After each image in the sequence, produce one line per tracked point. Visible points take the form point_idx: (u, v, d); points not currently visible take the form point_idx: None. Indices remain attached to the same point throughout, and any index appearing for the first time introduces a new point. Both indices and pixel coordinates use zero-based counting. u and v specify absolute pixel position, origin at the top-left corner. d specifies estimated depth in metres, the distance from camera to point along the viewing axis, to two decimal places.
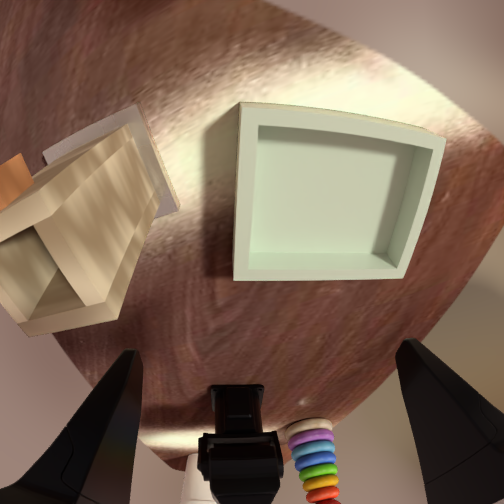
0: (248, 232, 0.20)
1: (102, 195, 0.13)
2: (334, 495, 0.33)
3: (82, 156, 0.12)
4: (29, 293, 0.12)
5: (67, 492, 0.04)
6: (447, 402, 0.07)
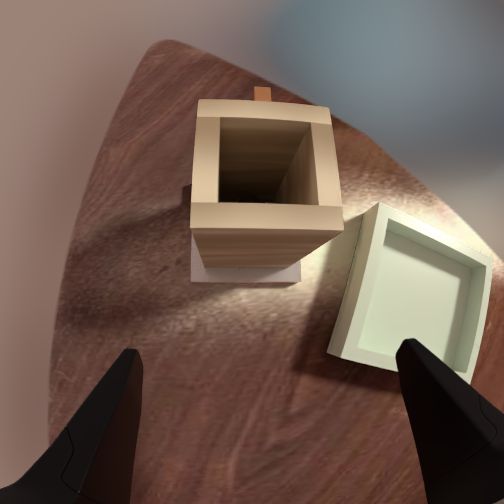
0: (366, 306, 0.21)
1: None
2: None
3: None
4: None
5: (67, 493, 0.04)
6: (447, 402, 0.07)
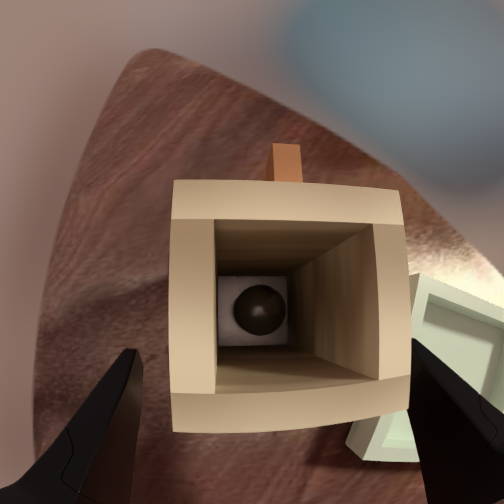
0: None
1: None
2: None
3: None
4: None
5: (67, 493, 0.04)
6: (447, 402, 0.07)
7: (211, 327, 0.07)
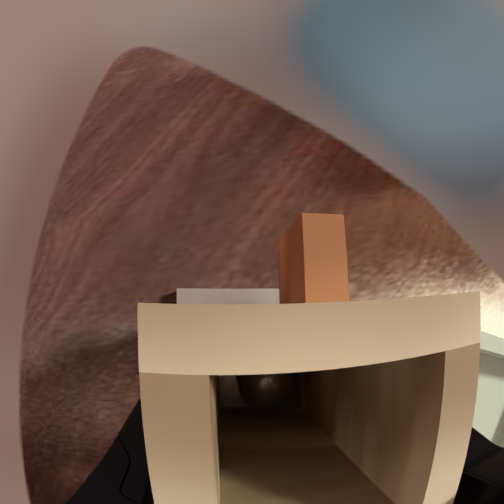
0: None
1: None
2: None
3: None
4: None
5: None
6: None
7: None
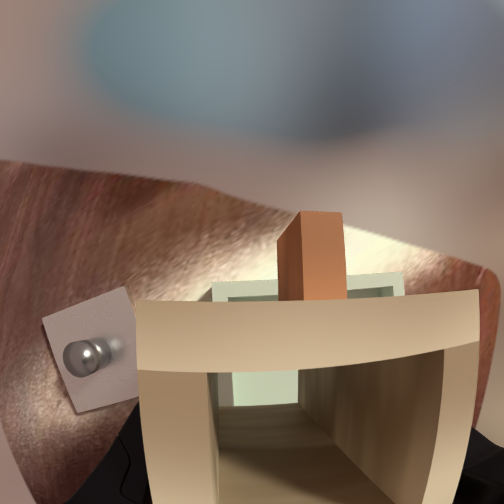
0: (231, 401, 0.19)
1: None
2: None
3: None
4: None
5: None
6: None
7: None
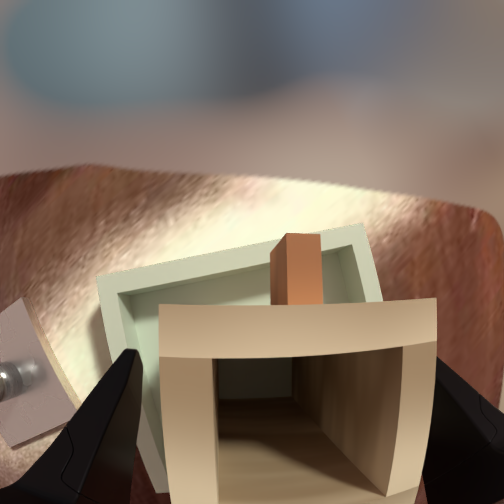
0: (147, 430, 0.13)
1: None
2: None
3: None
4: (217, 475, 0.06)
5: (67, 492, 0.04)
6: (447, 402, 0.07)
7: (213, 471, 0.05)
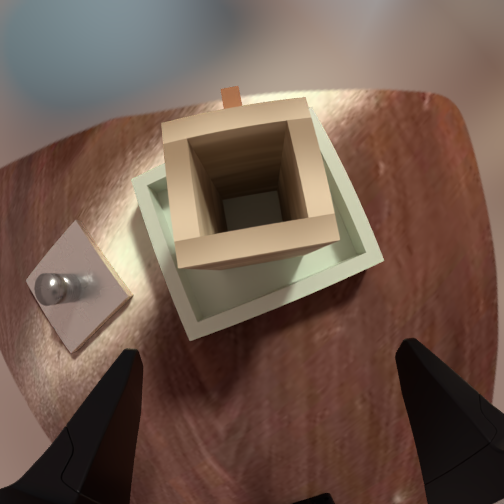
0: (178, 280, 0.20)
1: None
2: None
3: None
4: (203, 223, 0.13)
5: (67, 492, 0.04)
6: (447, 402, 0.07)
7: (193, 196, 0.11)
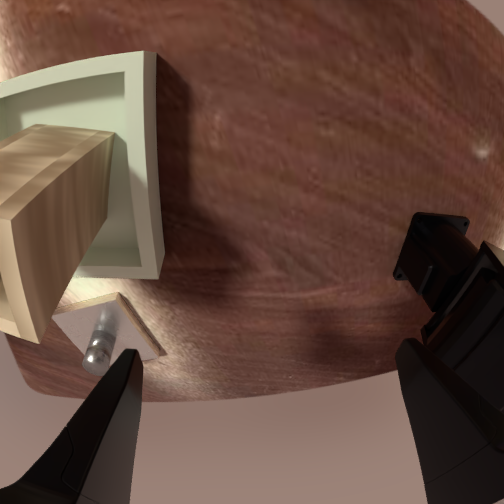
0: (100, 267, 0.19)
1: None
2: None
3: None
4: None
5: (67, 493, 0.04)
6: (447, 402, 0.07)
7: None
